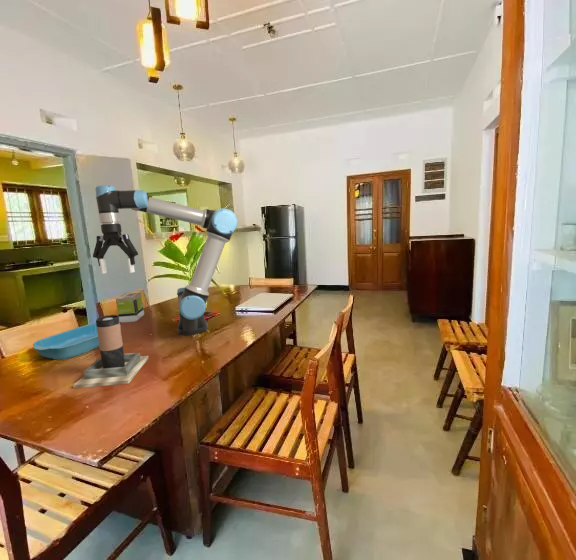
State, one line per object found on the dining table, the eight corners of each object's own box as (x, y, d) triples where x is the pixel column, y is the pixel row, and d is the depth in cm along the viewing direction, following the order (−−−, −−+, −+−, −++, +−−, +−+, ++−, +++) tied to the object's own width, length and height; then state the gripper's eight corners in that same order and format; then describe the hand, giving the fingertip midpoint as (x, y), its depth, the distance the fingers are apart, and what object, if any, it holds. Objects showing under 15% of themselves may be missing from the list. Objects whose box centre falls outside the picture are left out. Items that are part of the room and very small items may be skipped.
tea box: (128, 315, 203) (125, 292, 201) (144, 314, 204) (142, 291, 202) (118, 322, 189) (115, 298, 186) (136, 321, 190) (133, 297, 187)
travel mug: (130, 365, 124) (123, 315, 121) (113, 374, 117) (106, 321, 114) (115, 363, 127) (108, 314, 123) (98, 372, 120) (90, 320, 116)
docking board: (148, 358, 134) (147, 348, 133) (128, 383, 112) (127, 372, 112) (102, 362, 132) (101, 352, 131) (73, 388, 110) (71, 376, 110)
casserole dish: (56, 367, 129) (53, 350, 128) (23, 360, 138) (20, 344, 137) (132, 337, 163) (130, 323, 162) (101, 332, 172) (100, 319, 170)
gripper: (142, 221, 138) (149, 270, 142) (91, 225, 143) (99, 272, 146) (131, 221, 131) (138, 273, 135) (78, 225, 136) (86, 275, 139)
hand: (118, 273), depth 141 cm, fingers open, 13 cm apart
